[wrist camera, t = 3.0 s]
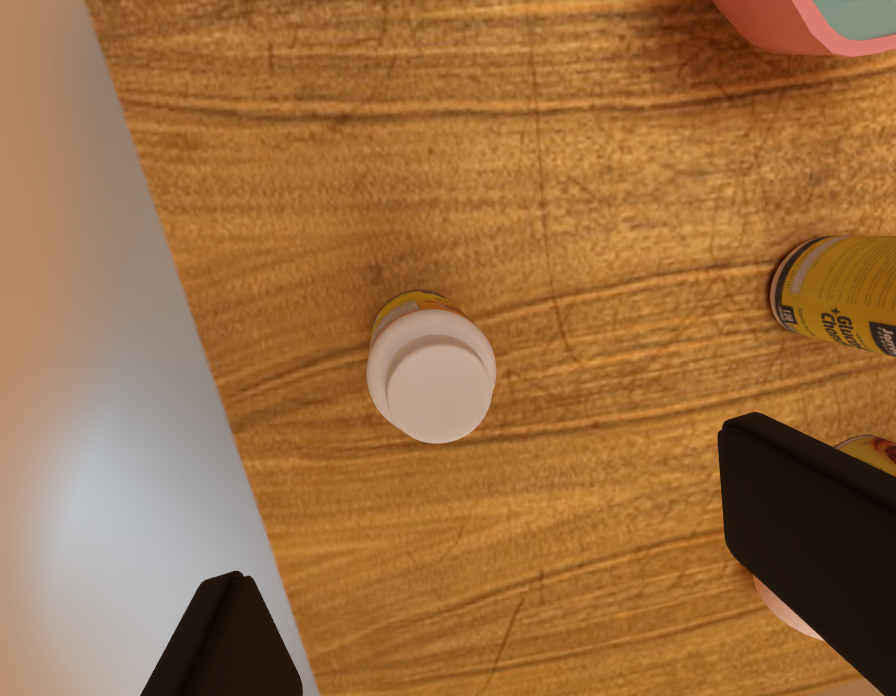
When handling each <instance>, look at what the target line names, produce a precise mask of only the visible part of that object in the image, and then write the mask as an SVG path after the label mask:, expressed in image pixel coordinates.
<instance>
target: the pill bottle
mask: <svg viewBox="0 0 896 696" xmlns="http://www.w3.org/2000/svg"><path fill="white" fill-rule="evenodd" d="M770 303H771V308H772V311H773V314H774V316H775V318H776V319H777V321H778V322H779V323H780V324H781V325H782V326H783V327H784V328H786V329H788V330H789V331H792V332H794V333H797V334H801V335H805V336H809V337H813V338H817V339H821V340H825V341H830V342H834V343H838V344H842V345H846V346H850V347H854V348H859V349H863V350H867V351H870V352H875V353H879V354H883V355H887V356H891V357H895V358H896V236H825V237H819V238H815V239H812V240H809V241H807V242H805V243H803V244H801V245H800V246H798V247H797V248H795V249H794V250H793V251H792V252H791V253H790V254H789V255H788V256H787V257H786V258H785V259H784V260H783V262H782V263H781V265H780V266H779V268H778V269H777V271H776V274H775V276H774V278H773V281H772V285H771V290H770Z"/></svg>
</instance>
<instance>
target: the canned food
mask: <svg viewBox="0 0 896 696" xmlns="http://www.w3.org/2000/svg"><path fill="white" fill-rule="evenodd" d="M836 449H838V450H840V451H842V452H844V453H846V454H849V455H851V456H853V457H855V458H857V459H859V460H861V461H863V462H866V463H868V464H870V465H872V466H874V467H876V468H878V469H880V470H883V471H885V472H887V473H889V474H891V475H893V476H895V477H896V444H895V443H893V442H890V441H888V440H885V439H883V438H879V437H876V436H859V437H856V438H852V439H849V440H847V441H846V442H844V443H842V444H840V445H838V446H837V447H836Z"/></svg>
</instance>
